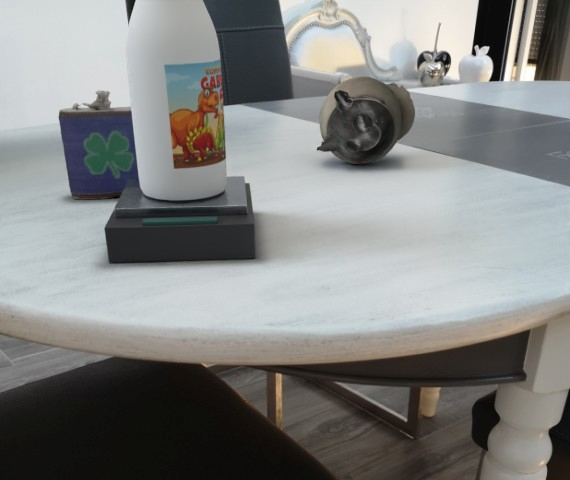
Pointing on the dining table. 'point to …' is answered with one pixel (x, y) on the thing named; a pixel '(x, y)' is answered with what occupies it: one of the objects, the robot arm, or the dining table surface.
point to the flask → (98, 148)
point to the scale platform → (182, 202)
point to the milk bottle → (176, 99)
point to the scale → (181, 237)
